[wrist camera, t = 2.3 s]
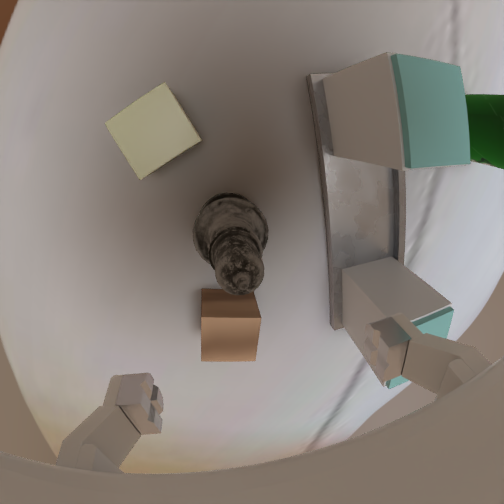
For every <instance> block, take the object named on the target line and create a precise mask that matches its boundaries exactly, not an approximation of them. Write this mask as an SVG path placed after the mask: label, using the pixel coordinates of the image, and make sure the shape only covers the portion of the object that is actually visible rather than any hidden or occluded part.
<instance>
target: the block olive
mask: <svg viewBox="0 0 504 504" xmlns="http://www.w3.org/2000/svg"><path fill="white" fill-rule="evenodd" d="M105 125H106V127H107V128H108V130H109V132H110V133H111V135H112V137H113V138H114V140H115V142H116V143H117V145H118V146H119V148H120V150H121V151H122V153H123V154H124V156H125V158H126V159H127V161H128V162H129V164H130V166H131V167H132V169H133V170H134V172H135V173H136V175H137V177H138V178H139V180H141V179H143V178H145V177H146V176H148V175H149V174H151V173H153V172H154V171H156V170H157V169H159V168H160V167H162V166H163V165H165V164H166V163H168V162H169V161H171V160H172V159H174V158H175V157H177V156H178V155H180V154H182V153H183V152H185V151H186V150H188V149H190V148H191V147H193V146H194V145H196V144H198V143H199V142H201V141H202V139H201V137H200V136H199V134H198V132H197V131H196V129H195V128H194V126H193V124H192V123H191V121H190V119H189V118H188V116H187V115H186V113H185V111H184V110H183V108H182V107H181V105H180V103H179V102H178V100H177V99H176V97H175V95H174V94H173V92H172V91H171V90H170V88H169V87H168V86H167V85H166V83H165V82H164V83H162V84H161V85H159V86H157V87H156V88H154V89H153V90H151V91H150V92H148V93H146V94H145V95H143V96H142V97H140V98H139V99H138V100H136V101H135V102H133V103H132V104H130V105H129V106H127V107H126V108H125V109H123V110H122V111H121V112H119V113H118V114H116V115H115V116H114V117H112V118H111V119H110V120H109V121H107V122H106V123H105Z"/></svg>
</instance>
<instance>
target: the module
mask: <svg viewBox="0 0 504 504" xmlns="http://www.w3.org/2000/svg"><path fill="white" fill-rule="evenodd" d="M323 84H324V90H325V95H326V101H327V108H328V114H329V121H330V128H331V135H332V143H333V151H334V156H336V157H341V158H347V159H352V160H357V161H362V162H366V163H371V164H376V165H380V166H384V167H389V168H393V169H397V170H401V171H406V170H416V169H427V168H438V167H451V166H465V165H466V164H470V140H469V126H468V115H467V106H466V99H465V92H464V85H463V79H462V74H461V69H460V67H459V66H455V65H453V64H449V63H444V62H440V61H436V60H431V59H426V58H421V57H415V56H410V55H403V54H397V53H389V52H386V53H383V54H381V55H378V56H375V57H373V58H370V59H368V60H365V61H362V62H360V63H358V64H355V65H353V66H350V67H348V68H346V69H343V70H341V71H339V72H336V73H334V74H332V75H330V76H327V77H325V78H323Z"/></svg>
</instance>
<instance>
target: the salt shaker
mask: <svg viewBox="0 0 504 504" xmlns="http://www.w3.org/2000/svg"><path fill="white" fill-rule="evenodd" d="M267 240H268V226H267V221H266V219H265V217H264V215H263V214H262V212H261V211H260V210H259V209H258V208H257V207H256V206H255V205H254V204H252V203H250V202H249V201H248V200H247V199H246V198H244V197H242V196H240V195H237V194H233V193H223V194H220V195H216V196H215V197H213V198H211V199H210V200H209V201H208V202H207V203H206V204H205V205H204V206H203V208H202V210H201V211H200V214H199V216H198V218H197V219H196V221H195V225H194V229H193V241H194V244H195V247H196V250H197V251H198V253H199V254H200V256H201V257H202V258H203V259H204V260H205V261H206V262H208V263H209V264H211V266H212V267H213V269H214V270H215V276H216V279H217V282H218V283H219V285H220V286H221V288H222V289H223V290H225V291H226V292H227V293H230V294H232V295H245V294H249V293H251V292H253V291H254V290H255V289H256V288H258V287H259V285H260V284H261V282H262V280H263V277H264V265H263V261H262V259H261V258H262V252H263V250H264V249H265V247H266V243H267Z"/></svg>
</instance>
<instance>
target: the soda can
mask: <svg viewBox="0 0 504 504" xmlns="http://www.w3.org/2000/svg"><path fill="white" fill-rule="evenodd" d="M465 99H466V106H467V115H468V126H469V140H470V161H473V162H477V163H481V164H486V165H490V166H494V167H497V168H501V169H504V95H486V94H470V95H465Z"/></svg>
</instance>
